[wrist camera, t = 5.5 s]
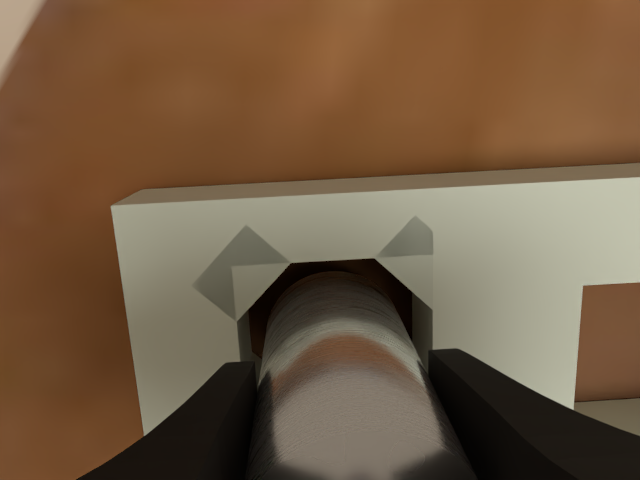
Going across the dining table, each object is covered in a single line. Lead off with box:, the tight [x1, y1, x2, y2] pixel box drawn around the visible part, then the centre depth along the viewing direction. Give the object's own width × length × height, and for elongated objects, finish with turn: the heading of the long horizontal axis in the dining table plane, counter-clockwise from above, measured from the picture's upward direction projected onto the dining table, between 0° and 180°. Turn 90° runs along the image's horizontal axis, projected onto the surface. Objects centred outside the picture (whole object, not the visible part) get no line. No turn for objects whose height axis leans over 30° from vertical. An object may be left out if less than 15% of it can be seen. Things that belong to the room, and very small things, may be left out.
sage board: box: [111, 163, 640, 436], centre depth 15 cm, size 9×18×2 cm, turn 93°
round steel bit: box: [245, 271, 478, 480], centre depth 11 cm, size 4×4×7 cm
